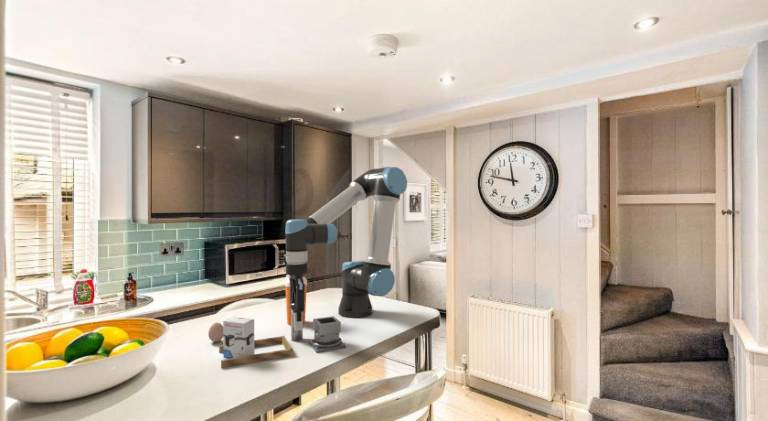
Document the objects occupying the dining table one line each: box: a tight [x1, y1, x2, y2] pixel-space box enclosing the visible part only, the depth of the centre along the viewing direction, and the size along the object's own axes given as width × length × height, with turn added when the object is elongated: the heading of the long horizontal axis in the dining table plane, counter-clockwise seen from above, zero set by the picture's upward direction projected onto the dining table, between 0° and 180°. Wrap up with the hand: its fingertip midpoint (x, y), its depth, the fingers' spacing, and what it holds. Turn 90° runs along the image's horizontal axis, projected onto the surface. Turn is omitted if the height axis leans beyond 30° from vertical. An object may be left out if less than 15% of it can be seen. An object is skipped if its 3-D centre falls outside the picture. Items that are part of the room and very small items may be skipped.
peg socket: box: [308, 315, 347, 354], centre depth 130 cm, size 10×10×8 cm
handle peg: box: [290, 302, 304, 342], centre depth 136 cm, size 5×5×13 cm
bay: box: [218, 335, 294, 369], centre depth 123 cm, size 21×14×2 cm, turn 116°
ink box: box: [222, 316, 256, 359], centre depth 121 cm, size 8×5×12 cm, turn 70°
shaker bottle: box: [284, 274, 308, 326], centre depth 154 cm, size 9×9×20 cm
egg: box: [207, 321, 223, 343], centre depth 133 cm, size 5×5×7 cm
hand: (296, 327), depth 136 cm, fingers closed on handle peg, 4 cm apart
